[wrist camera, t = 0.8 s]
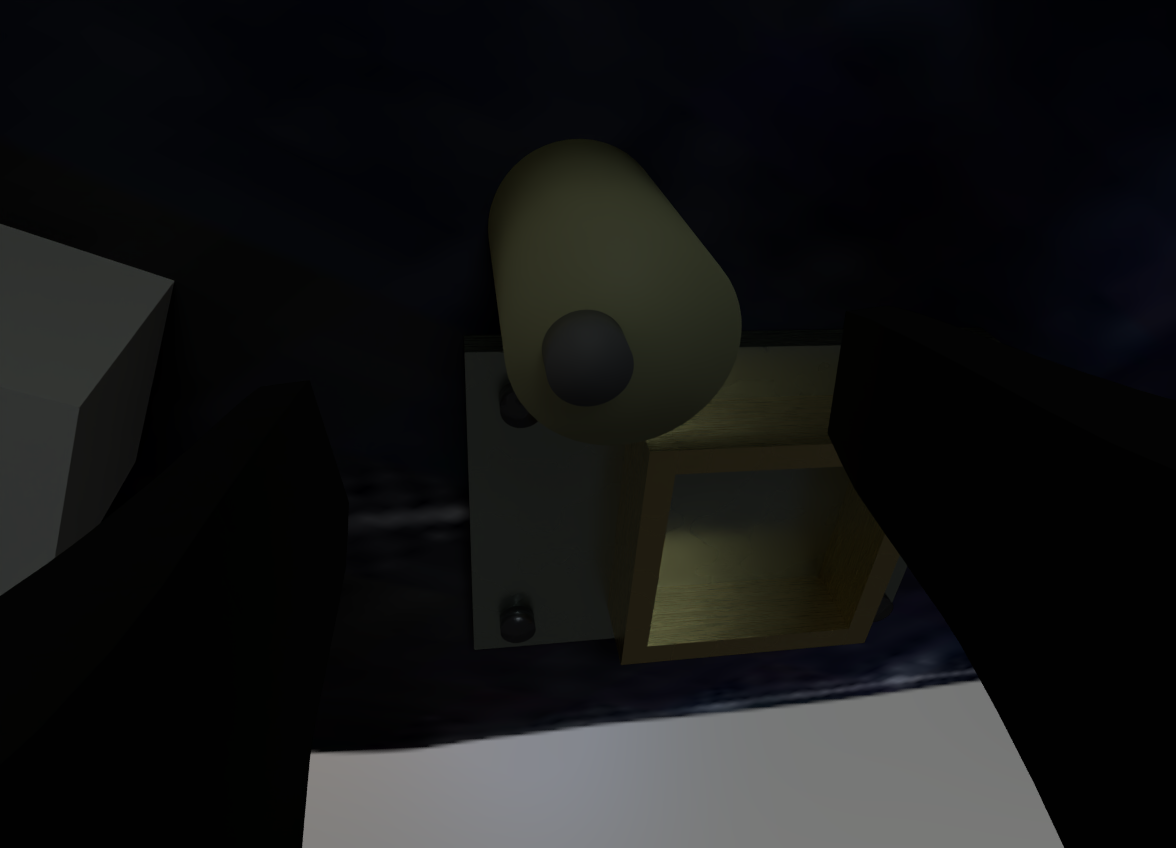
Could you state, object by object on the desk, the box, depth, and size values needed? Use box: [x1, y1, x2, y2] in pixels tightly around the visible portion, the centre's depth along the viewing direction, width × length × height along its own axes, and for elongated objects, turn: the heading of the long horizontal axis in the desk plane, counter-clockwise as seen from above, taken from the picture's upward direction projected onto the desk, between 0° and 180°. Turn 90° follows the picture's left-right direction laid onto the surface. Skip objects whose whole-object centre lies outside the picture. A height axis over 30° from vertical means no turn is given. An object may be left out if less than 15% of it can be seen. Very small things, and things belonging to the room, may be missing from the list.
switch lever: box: [488, 139, 741, 445], centre depth 17 cm, size 5×5×7 cm
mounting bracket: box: [464, 327, 1001, 665], centre depth 24 cm, size 16×12×4 cm
